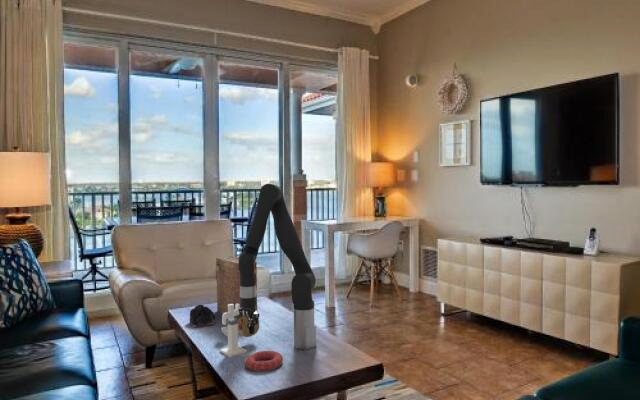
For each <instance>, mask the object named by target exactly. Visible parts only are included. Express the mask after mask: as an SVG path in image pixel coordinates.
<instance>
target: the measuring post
mask: <svg viewBox="0 0 640 400" xmlns="http://www.w3.org/2000/svg"><path fill="white" fill-rule="evenodd" d="M238 321H239V319H237V318H234V319H230V320H228V319H227V320H226V325H227V326H228V336H227V346H228V347H225V348H221V349H219V352H220V353H221V354H223V355H225V356H227V357H229V358H232V357H235V356H238V355H242V354H244V353H247V349H245V348H243V347H241V346H239V344H238V343H239V339H238V338H239V337H238V336H239V334H238V327H237V326H238Z"/></svg>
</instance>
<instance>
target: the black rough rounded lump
mask: <svg viewBox="0 0 640 400" xmlns="http://www.w3.org/2000/svg"><path fill="white" fill-rule="evenodd" d="M189 311H190V312H189V323H188V324H189V325H190V326H191V327H192V328H198V327H205V326H210V325H214V324H215V323H216V318H217V317H216V316H215V313H214V311H212V309H210V308H209V307H208V306H205V305H204V304H197V305H196V306H194V307H193V308H192V309H191V310H189Z"/></svg>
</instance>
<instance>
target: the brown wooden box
mask: <svg viewBox="0 0 640 400" xmlns="http://www.w3.org/2000/svg"><path fill="white" fill-rule="evenodd" d="M257 264H258V263H257V261H255V263H254V273H255V276H256V290H257V291H258V271H257V270H258V265H257ZM215 265H216V303H217V304H216V307H217V308H216V309H217V312H219V313H222V314H223V313H226V312H228V304H234V310H235V305H236V304H239V306H240V271H239V257H235V256H228V257H225V258H216V259H215ZM240 308H242V307H241V306H240ZM255 310H256V313H258V304H257V305H256V306H255ZM234 318H235V319H238V320H239V319H240V315H237V316H234Z"/></svg>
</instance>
